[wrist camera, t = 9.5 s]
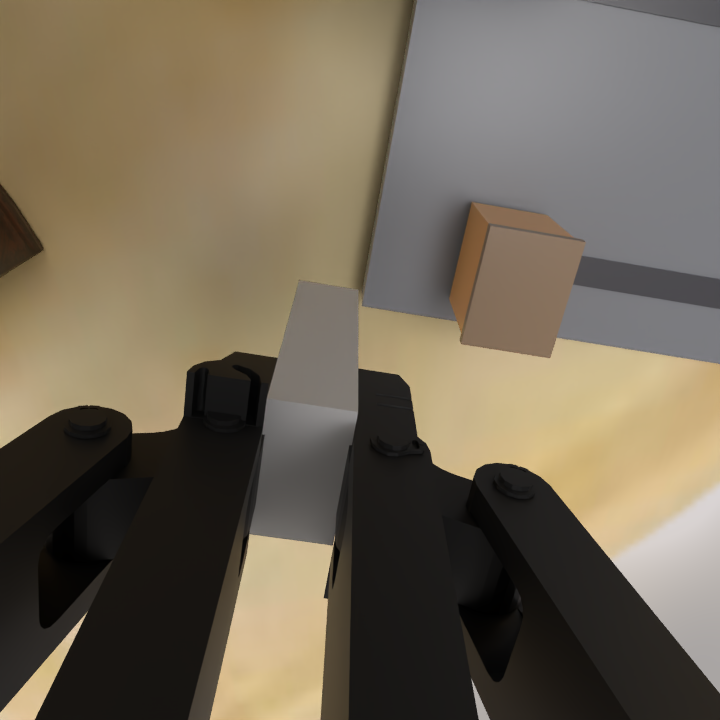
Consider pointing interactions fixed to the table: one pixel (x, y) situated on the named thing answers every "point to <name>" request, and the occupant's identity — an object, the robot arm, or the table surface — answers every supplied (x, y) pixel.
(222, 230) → the table surface
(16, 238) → the manual coffee grinder
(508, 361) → the table surface
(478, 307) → the brown rectangular block
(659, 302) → the grey slider board
